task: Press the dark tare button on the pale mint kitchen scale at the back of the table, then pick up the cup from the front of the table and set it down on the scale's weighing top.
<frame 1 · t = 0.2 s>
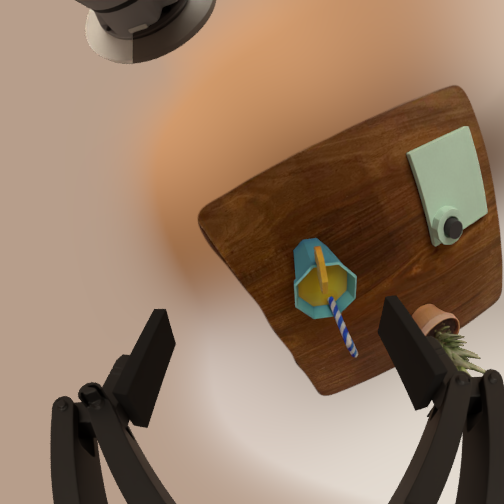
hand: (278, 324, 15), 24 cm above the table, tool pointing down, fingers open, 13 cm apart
cup: (312, 259, 40), on the table
scale: (451, 184, 34), on the table
tare button: (453, 228, 33), point 4 cm above the table, slide at 0.1 cm
potted plant: (422, 315, 44), on the table
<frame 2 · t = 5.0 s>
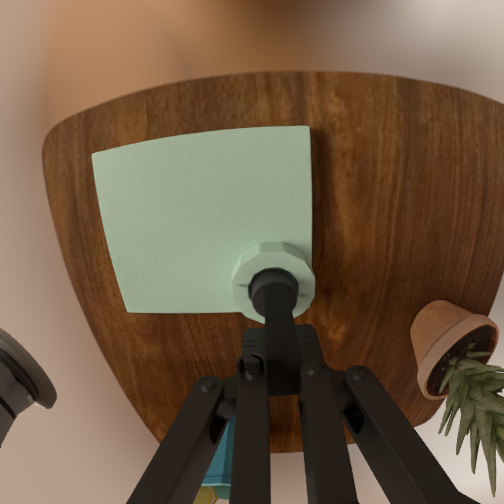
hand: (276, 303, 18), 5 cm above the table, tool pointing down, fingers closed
cup: (239, 422, 31), on the table
scale: (203, 227, 21), on the table
tare button: (274, 294, 19), point 4 cm above the table, slide at 0.1 cm, touching gripper
potted plant: (430, 320, 24), on the table
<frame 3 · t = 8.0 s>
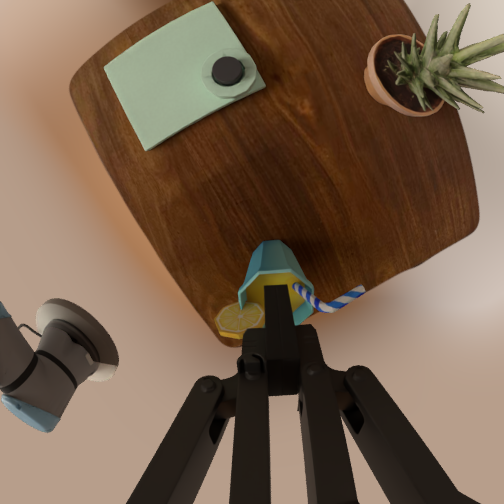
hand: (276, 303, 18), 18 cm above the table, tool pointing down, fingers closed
cup: (278, 254, 36), on the table
scale: (179, 72, 27), on the table
tare button: (227, 70, 24), point 4 cm above the table, slide at 0.1 cm
potted plant: (382, 83, 26), on the table
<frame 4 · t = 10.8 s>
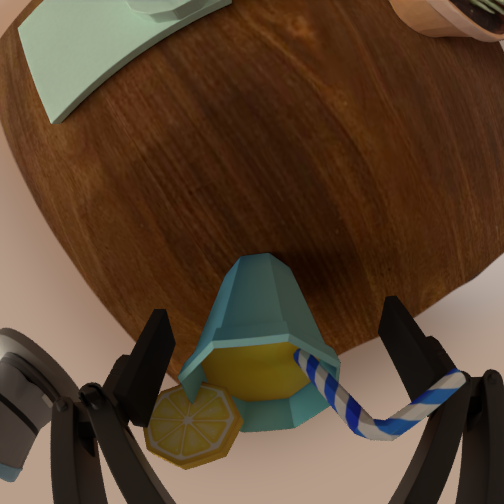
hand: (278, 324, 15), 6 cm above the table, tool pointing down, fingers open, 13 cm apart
cup: (269, 277, 21), on the table
scale: (104, 7, 12), on the table
potted plant: (414, 7, 12), on the table
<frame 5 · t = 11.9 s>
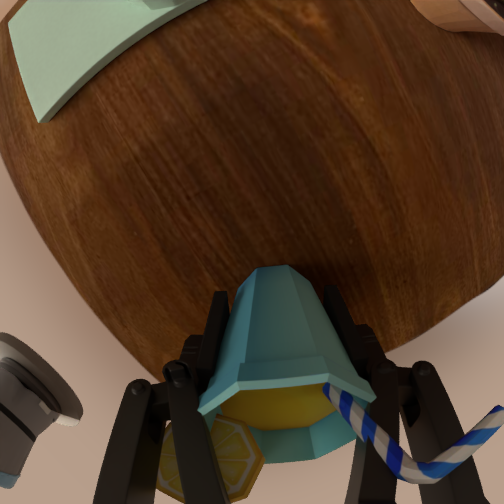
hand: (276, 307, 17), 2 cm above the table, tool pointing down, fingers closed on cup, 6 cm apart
cup: (286, 291, 19), on the table, touching gripper
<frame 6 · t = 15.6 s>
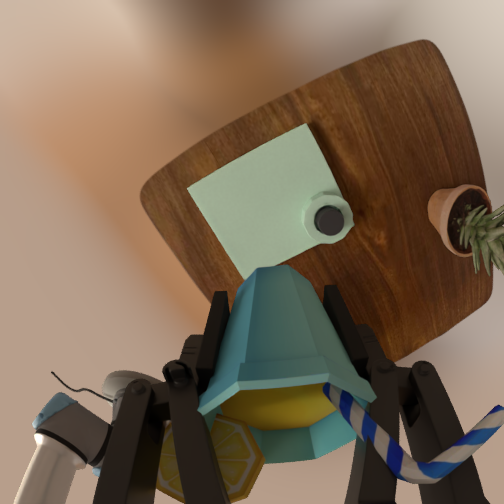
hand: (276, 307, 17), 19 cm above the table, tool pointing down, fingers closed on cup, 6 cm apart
cup: (286, 290, 19), point 17 cm above the table, touching gripper
scale: (273, 203, 33), on the table
tare button: (329, 221, 30), point 4 cm above the table, slide at 0.1 cm
potted plant: (440, 207, 33), on the table
when the fingers open (3 cm above the table, at t = 19.7 s): cup stays where it is, resting on scale.
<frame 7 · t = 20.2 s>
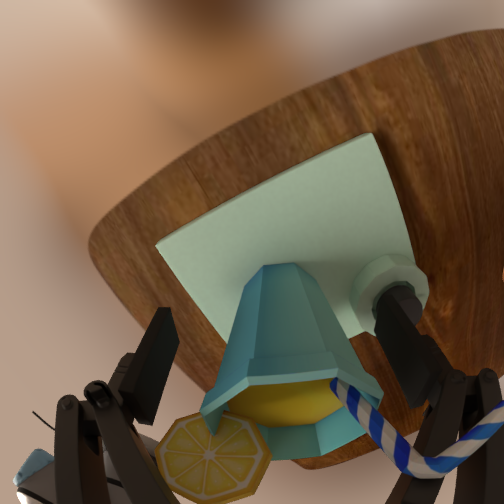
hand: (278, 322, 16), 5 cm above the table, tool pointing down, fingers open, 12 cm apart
cup: (292, 288, 19), point 1 cm above the table, touching scale
scale: (304, 270, 20), on the table
tare button: (399, 310, 16), point 4 cm above the table, slide at 0.5 cm, touching gripper
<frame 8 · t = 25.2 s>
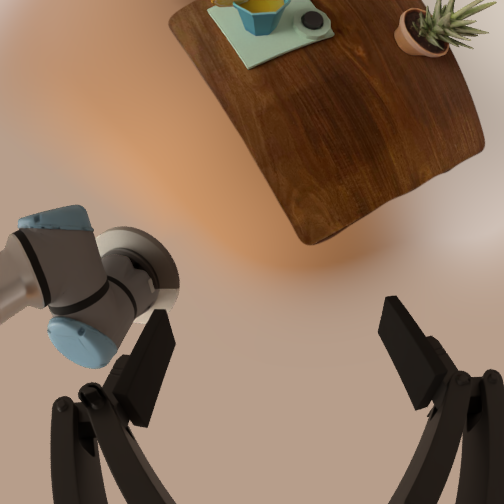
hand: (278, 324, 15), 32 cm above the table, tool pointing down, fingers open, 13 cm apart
cup: (265, 22, 32), point 1 cm above the table, touching scale
scale: (270, 20, 32), on the table
tare button: (312, 20, 29), point 4 cm above the table, slide at 0.1 cm
potted plant: (406, 41, 32), on the table
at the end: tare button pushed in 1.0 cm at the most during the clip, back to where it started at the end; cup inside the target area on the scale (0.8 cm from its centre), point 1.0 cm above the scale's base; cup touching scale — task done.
